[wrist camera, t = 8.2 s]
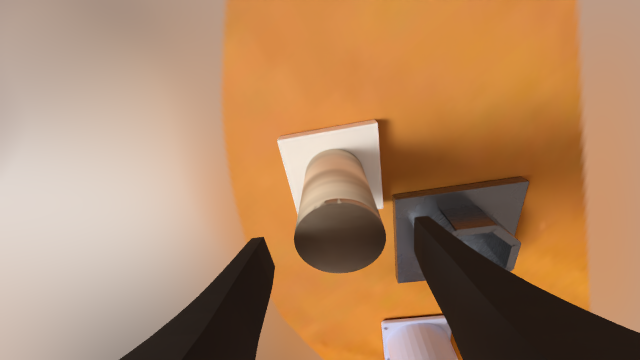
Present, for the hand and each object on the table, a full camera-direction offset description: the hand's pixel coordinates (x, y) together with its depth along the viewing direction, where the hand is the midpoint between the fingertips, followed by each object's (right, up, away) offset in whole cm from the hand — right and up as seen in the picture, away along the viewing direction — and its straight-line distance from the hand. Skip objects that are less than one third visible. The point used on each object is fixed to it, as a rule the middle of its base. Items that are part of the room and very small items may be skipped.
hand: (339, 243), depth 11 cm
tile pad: (0, +4, +7) cm, 8 cm away
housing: (+11, -2, +10) cm, 15 cm away
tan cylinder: (0, +3, +6) cm, 7 cm away
